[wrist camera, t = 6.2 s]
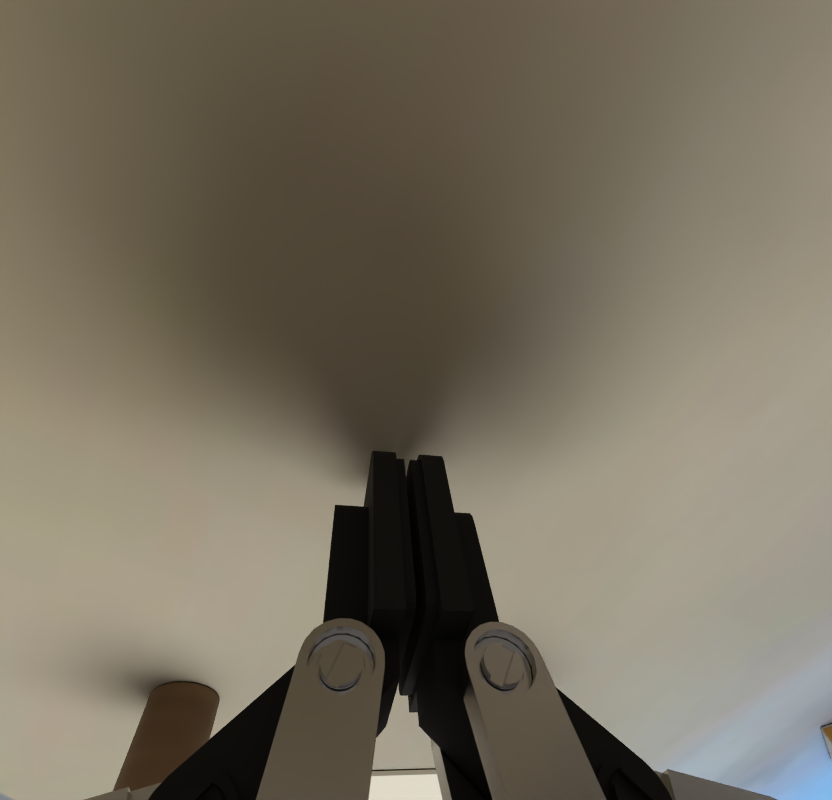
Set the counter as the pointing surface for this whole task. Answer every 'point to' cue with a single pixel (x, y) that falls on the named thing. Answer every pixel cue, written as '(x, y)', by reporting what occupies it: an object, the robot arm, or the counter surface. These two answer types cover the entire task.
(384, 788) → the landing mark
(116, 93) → the counter surface
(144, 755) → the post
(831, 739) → the small box
